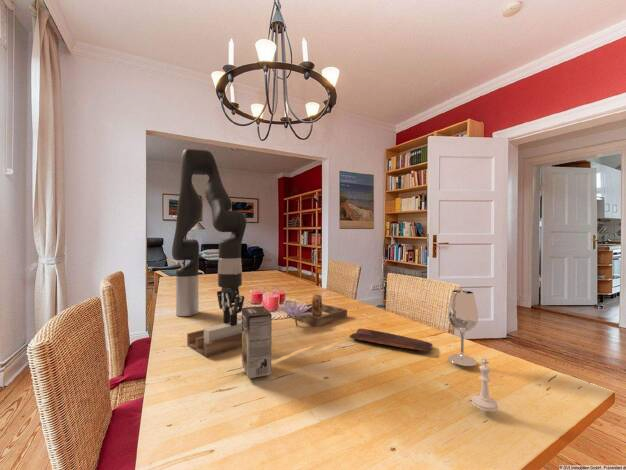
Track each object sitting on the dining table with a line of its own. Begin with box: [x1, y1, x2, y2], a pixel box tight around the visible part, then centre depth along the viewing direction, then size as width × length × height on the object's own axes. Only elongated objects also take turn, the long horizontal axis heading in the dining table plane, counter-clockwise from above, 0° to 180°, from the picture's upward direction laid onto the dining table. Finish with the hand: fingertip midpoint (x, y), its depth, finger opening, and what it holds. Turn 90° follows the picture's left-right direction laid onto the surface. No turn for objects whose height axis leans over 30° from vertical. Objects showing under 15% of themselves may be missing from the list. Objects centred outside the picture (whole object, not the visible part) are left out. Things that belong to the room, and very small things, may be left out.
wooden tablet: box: [349, 328, 433, 352], centre depth 101 cm, size 26×2×10 cm
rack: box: [186, 329, 242, 359], centre depth 100 cm, size 14×20×4 cm
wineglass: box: [447, 289, 479, 367], centre depth 86 cm, size 8×8×20 cm
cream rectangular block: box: [203, 319, 242, 348], centre depth 98 cm, size 4×16×6 cm, turn 136°
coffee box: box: [241, 305, 273, 379], centre depth 81 cm, size 9×6×16 cm
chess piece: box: [471, 357, 499, 412], centre depth 64 cm, size 5×5×10 cm
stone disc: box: [311, 294, 323, 317], centre depth 130 cm, size 10×4×10 cm, turn 168°
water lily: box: [278, 301, 312, 327], centre depth 118 cm, size 15×15×9 cm
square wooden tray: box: [286, 303, 348, 328], centre depth 130 cm, size 18×18×4 cm
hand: (230, 323), depth 98 cm, fingers open, 3 cm apart
